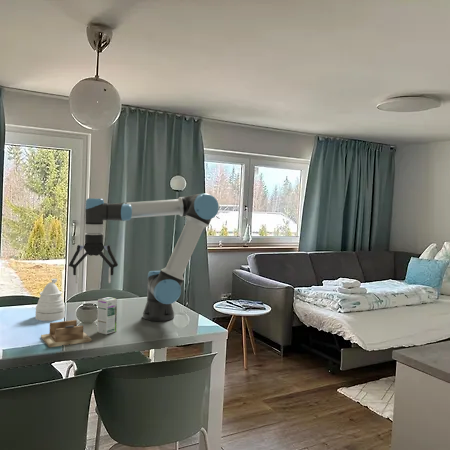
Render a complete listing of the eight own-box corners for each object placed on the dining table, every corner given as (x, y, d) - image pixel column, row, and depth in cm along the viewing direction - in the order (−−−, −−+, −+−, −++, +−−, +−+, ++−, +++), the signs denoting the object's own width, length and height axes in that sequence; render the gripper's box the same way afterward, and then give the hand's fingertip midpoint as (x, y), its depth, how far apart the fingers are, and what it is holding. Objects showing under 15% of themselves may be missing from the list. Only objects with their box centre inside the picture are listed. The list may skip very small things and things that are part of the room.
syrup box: (106, 334, 182) (107, 300, 181) (96, 332, 185) (97, 298, 184) (116, 331, 187) (117, 298, 186) (106, 329, 190) (107, 296, 189)
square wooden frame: (81, 332, 184) (81, 316, 184) (91, 341, 173) (91, 324, 172) (41, 337, 175) (41, 321, 175) (49, 347, 164) (49, 330, 163)
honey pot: (50, 312, 213) (50, 276, 213) (70, 316, 208) (71, 279, 208) (29, 318, 202) (30, 280, 201) (50, 322, 197) (51, 283, 196)
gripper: (124, 233, 193) (123, 280, 195) (65, 232, 189) (64, 281, 190) (123, 235, 186) (122, 284, 187) (62, 234, 181) (61, 284, 182)
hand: (93, 282), depth 188 cm, fingers open, 13 cm apart
